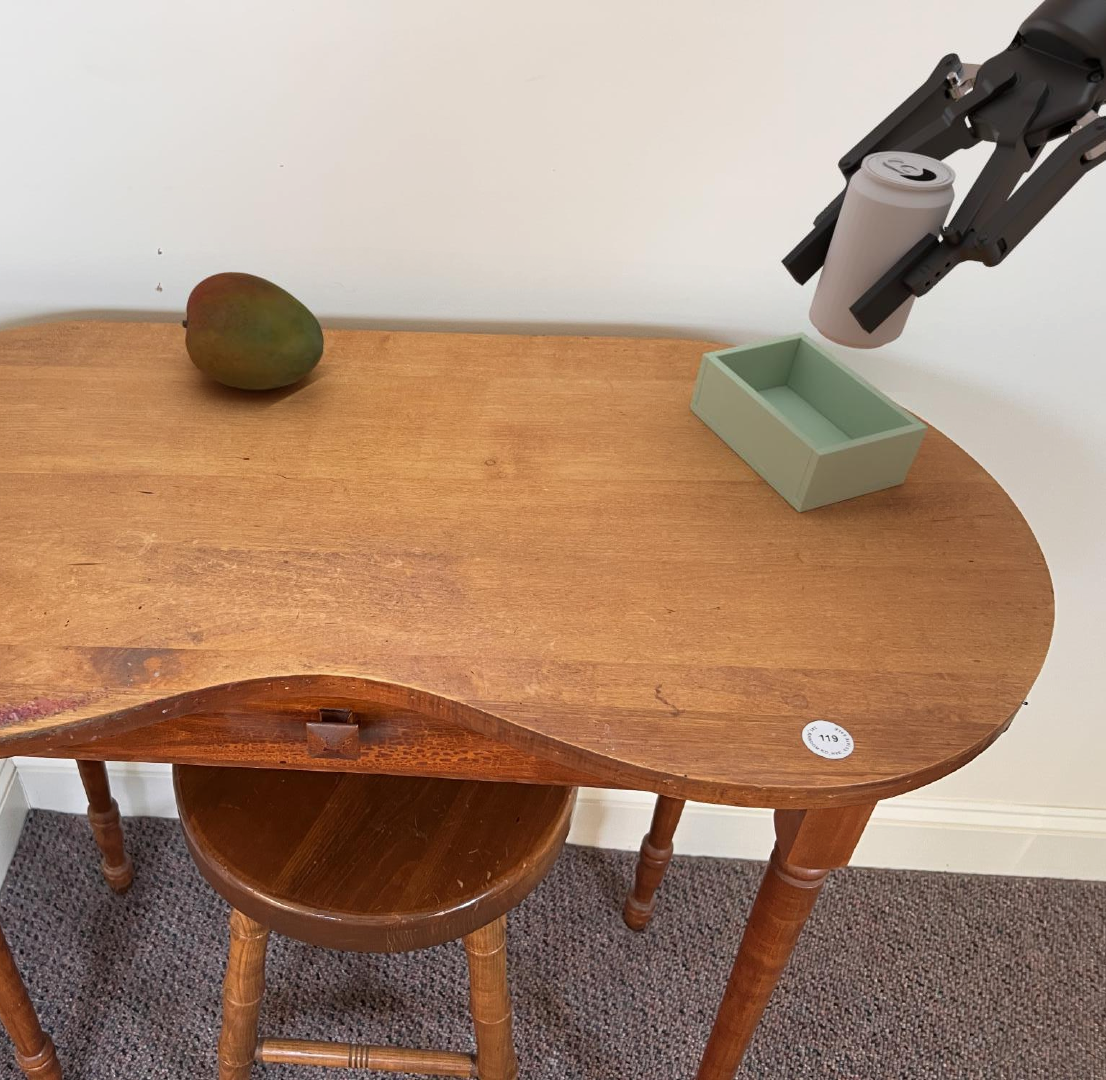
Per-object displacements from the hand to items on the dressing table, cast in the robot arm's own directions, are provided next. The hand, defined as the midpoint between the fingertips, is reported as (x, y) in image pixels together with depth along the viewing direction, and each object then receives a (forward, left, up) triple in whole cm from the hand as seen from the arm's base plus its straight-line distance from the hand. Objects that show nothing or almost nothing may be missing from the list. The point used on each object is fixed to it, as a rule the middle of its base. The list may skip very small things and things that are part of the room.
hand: (824, 296), depth 71 cm
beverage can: (0, -4, -4) cm, 5 cm away
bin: (+6, -8, -19) cm, 21 cm away
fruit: (+32, +33, -19) cm, 50 cm away
